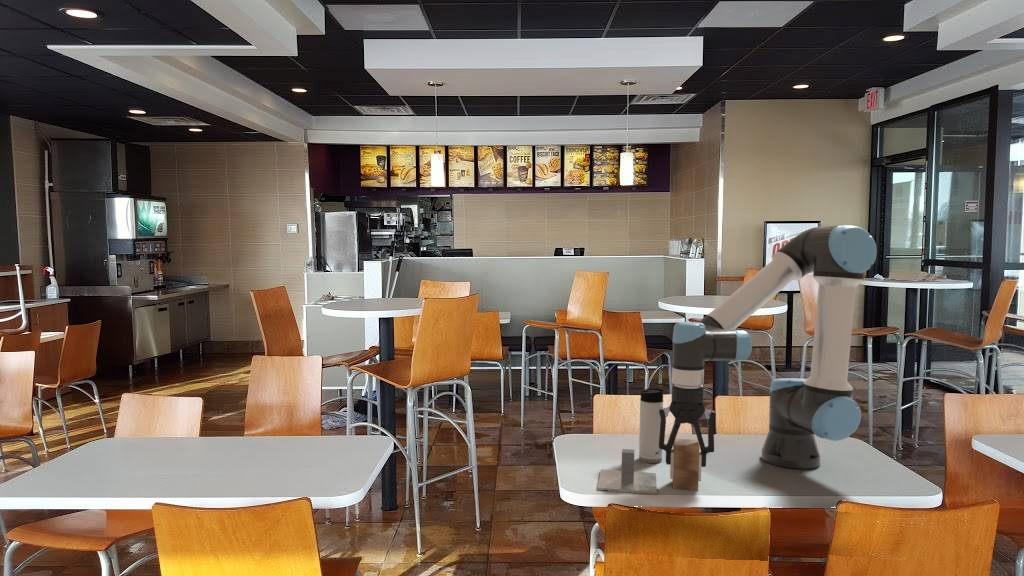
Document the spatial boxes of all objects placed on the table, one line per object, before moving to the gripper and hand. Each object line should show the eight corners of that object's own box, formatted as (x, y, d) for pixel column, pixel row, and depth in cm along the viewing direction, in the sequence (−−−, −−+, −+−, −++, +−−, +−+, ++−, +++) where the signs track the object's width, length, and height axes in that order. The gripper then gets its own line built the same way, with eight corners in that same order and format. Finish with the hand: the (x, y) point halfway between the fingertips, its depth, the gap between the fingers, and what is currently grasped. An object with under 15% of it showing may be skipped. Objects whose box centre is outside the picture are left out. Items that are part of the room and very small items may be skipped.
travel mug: (663, 464, 182) (665, 391, 181) (638, 462, 183) (640, 390, 182) (663, 457, 188) (664, 386, 187) (639, 455, 189) (640, 385, 188)
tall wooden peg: (696, 482, 168) (697, 439, 167) (698, 490, 162) (699, 446, 161) (672, 480, 169) (673, 438, 168) (673, 488, 163) (674, 444, 163)
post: (655, 475, 173) (656, 444, 172) (656, 494, 159) (657, 461, 159) (601, 471, 175) (601, 441, 175) (597, 490, 162) (598, 457, 161)
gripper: (725, 384, 166) (723, 476, 167) (648, 380, 170) (646, 470, 171) (729, 390, 159) (726, 486, 160) (648, 386, 162) (646, 480, 163)
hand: (685, 478), depth 165 cm, fingers closed on tall wooden peg, 6 cm apart
